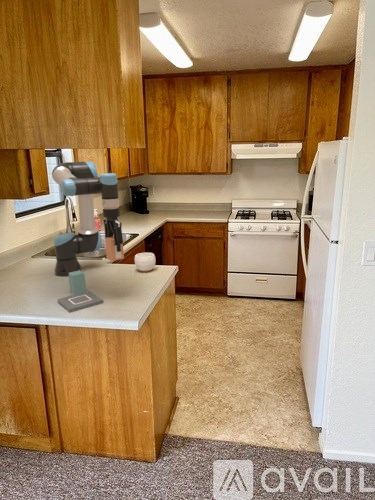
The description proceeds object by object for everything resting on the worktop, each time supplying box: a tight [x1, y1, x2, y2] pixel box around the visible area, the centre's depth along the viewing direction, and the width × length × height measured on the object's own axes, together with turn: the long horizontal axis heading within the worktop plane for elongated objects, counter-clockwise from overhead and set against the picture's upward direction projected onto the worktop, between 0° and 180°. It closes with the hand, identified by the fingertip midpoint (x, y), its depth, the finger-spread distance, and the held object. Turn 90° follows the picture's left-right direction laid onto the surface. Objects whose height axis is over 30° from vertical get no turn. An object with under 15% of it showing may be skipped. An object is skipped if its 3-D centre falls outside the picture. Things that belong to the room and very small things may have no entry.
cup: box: [134, 252, 157, 273], centre depth 212 cm, size 12×12×10 cm
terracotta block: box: [104, 236, 125, 262], centre depth 167 cm, size 6×6×10 cm
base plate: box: [56, 290, 104, 313], centre depth 167 cm, size 16×16×2 cm
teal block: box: [68, 270, 87, 295], centre depth 181 cm, size 6×6×10 cm
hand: (115, 256), depth 168 cm, fingers closed on terracotta block, 6 cm apart
